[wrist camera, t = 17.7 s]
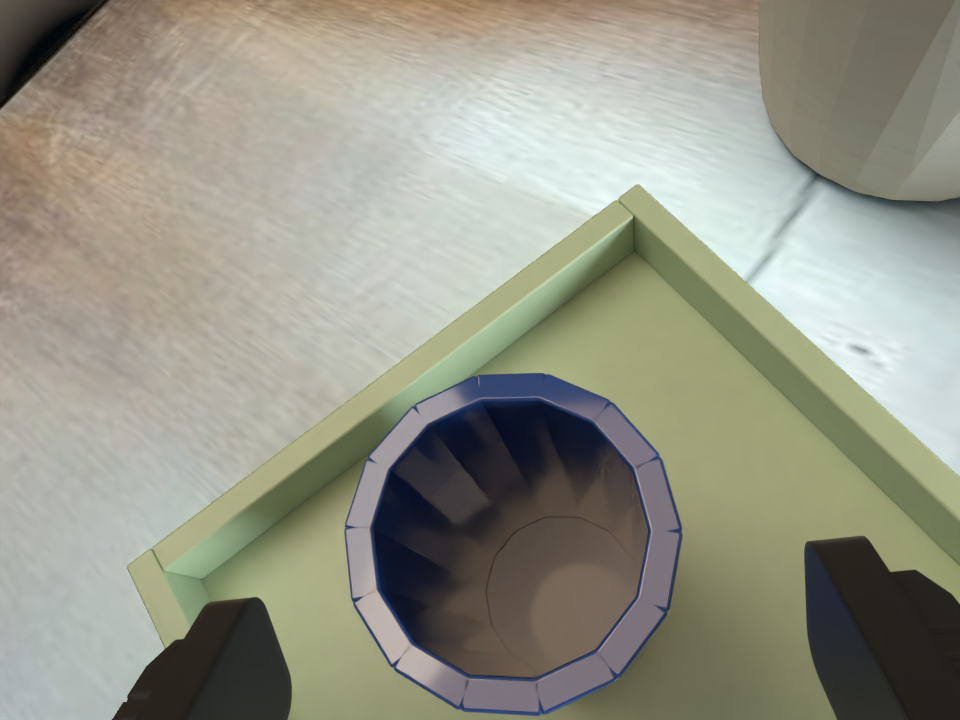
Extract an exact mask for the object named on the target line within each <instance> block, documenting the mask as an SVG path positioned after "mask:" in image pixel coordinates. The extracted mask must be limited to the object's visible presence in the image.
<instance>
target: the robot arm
mask: <svg viewBox="0 0 960 720" xmlns="http://www.w3.org/2000/svg"><path fill="white" fill-rule="evenodd" d="M804 565H805V593H806V621H807V635H808V641H809V647H810V651H811V656H812V659H813V663H814V666H815V669H816V672H817V675H818V677H819V680H820V682H821V684H822V686H823V689H824V691H825V693H826V696H827V698H828V700H829V702H830V705H831V707H832V709H833V712H834V714H835V716H836V718H837V720H960V604H959V603H958V601H957V600H956V599H955V597H954V596H953V595H952V594H951V593H950V592H948V591H947V590H945V589H944V588H942V587H941V586H939V585H938V584H936V583H935V582H933V581H932V580H930V579H929V578H927V577H926V576H925V575H923V574H922V573H920V572H919V571H917V570H916V569H915V570H905V571H895V572H890V571H889V569H888V568H887V566H886V565H885V563H884V562H883V560H882V559H881V557H880V556H879V554H878V553H877V551H876V550H875V548H874V547H873V545H872V544H871V542H870V541H869V539H867V538H866V537H865V536H853V537H843V538H833V539H824V540H814V541H807V542H806V544H805V548H804ZM127 697H128V700H127V702H123V704H122V705H121V707H120V708H119V710H118V711H117V713H116V714H115V716H114V718H113V719H112V720H287V719H288V716H289V713H290V708H291V701H292V683H291V677H290V672H289V669H288V666H287V664H286V661H285V658H284V655H283V653H282V650H281V647H280V644H279V641H278V639H277V636H276V633H275V630H274V628H273V625H272V622H271V619H270V616H269V614H268V611H267V608H266V606H265V604H264V602H263V601H262V600H261V599H260V598H258V597H251V598H241V599H232V600H222V601H213V602H209V603H207V604H206V605H205V606H204V607H203V608H202V610H201V611H200V613H199V615H198V616H197V618H196V619H195V621H194V623H193V624H192V626H191V628H190V629H189V631H188V633H187V634H186V636H185V638H184V639H176V640H174V641H173V642H172V643H171V644H170V645H169V646H168V647H167V648H166V649H165V650H164V651H163V652H161V653H160V654H159V655H158V656H157V657H156V658H155V659H154V660H153V661H152V662H151V663H150V664H149V665H147V666H146V668H145V669H144V671H143V673H142V674H141V676H140V677H139V679H138V680H137V682H136V683H135V685H134V686H133V688H132V690H131V691H130V693H129V694H128V696H127Z"/></svg>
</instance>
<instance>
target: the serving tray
mask: <svg viewBox="0 0 960 720" xmlns="http://www.w3.org/2000/svg"><path fill="white" fill-rule="evenodd" d="M520 373H544V374H545V375H546V374H550V375H553V376H555V377H557V378H560V379H562V380H565V381H567V382H569V383H572V384H574V385H576V386H579V387H581V388H583V389H586V390H588V391H591V392H593V393H595V394H598V395H600V396H602V397H605V398H607V399H609V400H610V402H613V403H615V405H616V406H617V407H618V408H619V409H620V410H621V411H622V412H623V413H624V415H625V416H626V417H627V418H628V419H629V420H630V421H631V422H632V423H633V425H634V426H635V427H636V428H637V429H638V430H639V431H640V432H641V434H642V435H643V436H644V437H645V438H646V439H647V440H648V441H649V442H650V444H651V445H652V446H653V447H654V448H655V449H656V450H657V451H658V452H659V454H660V457H661V458H662V460H663V462H664V466H665V469H666V473H667V476H668V479H669V483H670V486H671V490H672V493H673V497H674V500H675V503H676V507H677V510H678V514H679V517H680V521H681V524H682V527H683V528H682V534H683V538H682V544H681V550H680V556H679V561H678V567H677V573H676V578H675V584H674V590H673V596H672V601H671V607H670V610H669V612H668V614H667V617H666V619H665V621H664V622H663V624H662V626H661V627H660V629H659V631H658V633H657V634H656V636H655V638H654V639H653V641H652V643H651V644H650V646H649V647H648V648H647V650H646V651H645V652H644V654H643V655H642V656H641V658H640V659H639V660H638V662H637V663H636V664H635V666H634V667H633V668H632V670H631V671H630V672H629V674H628V675H627V676H626V677H624V679H622V680H620V681H617V682H615V683H613V684H611V685H609V686H607V687H605V688H603V689H600V690H598V691H596V692H594V693H592V694H590V695H588V696H586V697H584V698H581V699H579V700H577V701H575V702H573V703H571V704H569V705H566V706H564V707H562V708H560V709H558V710H556V711H554V712H551V713H549V714H547V715H540V716H525V715H507V714H490V713H472V712H464V711H462V710H457V709H455V708H453V707H452V706H450V705H448V704H447V703H445V702H444V701H442V700H440V699H439V698H437V697H435V696H434V695H432V694H431V693H429V692H427V691H426V690H424V689H422V688H421V687H419V686H418V685H416V684H414V683H413V682H411V681H409V680H408V679H406V678H405V677H403V676H401V675H400V674H398V673H396V672H395V670H394V668H392V667H390V665H389V664H388V662H387V660H386V659H385V657H384V656H383V654H382V652H381V651H380V649H379V647H378V646H377V644H376V642H375V641H374V639H373V637H372V636H371V634H370V633H369V631H368V629H367V628H366V626H365V624H364V623H363V621H362V619H361V618H360V616H359V614H358V613H357V611H356V610H355V608H354V606H353V603H354V602H352V600H351V593H350V583H349V574H348V564H347V555H346V545H345V535H344V530H345V528H346V527H345V522H346V519H347V516H348V513H349V510H350V507H351V504H352V501H353V498H354V495H355V492H356V488H357V485H358V482H359V479H360V476H361V473H362V470H363V467H364V464H365V461H366V460H367V459H368V456H369V454H370V453H371V452H372V451H373V450H374V449H375V448H376V446H377V445H378V444H379V443H380V442H381V441H382V440H383V438H384V437H385V436H386V435H387V434H388V433H389V432H390V431H391V429H392V428H393V427H394V426H395V425H396V424H397V423H398V421H399V420H400V419H401V418H402V417H403V416H404V415H405V413H406V412H407V411H408V410H409V409H410V408H411V407H412V406H415V404H416V403H418V402H420V401H422V400H424V399H426V398H428V397H430V396H432V395H435V394H437V393H439V392H441V391H443V390H445V389H447V388H449V387H451V386H453V385H456V384H458V383H460V382H462V381H464V380H466V379H468V378H470V377H472V376H476V377H477V375H484V374H520ZM853 536H865V537H866V538H867V539H869V541H870V542H871V544H872V545H873V547H874V548H875V550H876V551H877V553H878V554H879V556H880V557H881V559H882V560H883V562H884V563H885V565H886V566H887V568H888V569H889V571H890V572H895V571H905V570H915V569H916V570H917V571H919V572H920V573H922V574H923V575H925V576H926V577H927V578H929V579H930V580H932V581H933V582H935V583H936V584H938V585H939V586H941V587H942V588H944V589H945V590H947V591H948V592H950V593H951V594H952V595H953V596H954V597H955V599H956V600H957V601H958V603H959V604H960V477H959V476H958V475H957V474H956V473H955V472H954V471H953V470H952V469H951V468H949V467H948V466H947V465H946V464H945V463H944V462H943V461H942V460H941V459H940V458H938V457H937V456H936V455H935V454H934V453H933V452H932V451H931V450H930V449H929V448H927V447H926V446H925V445H924V444H923V443H922V442H921V441H920V440H919V439H918V438H917V437H915V436H914V435H913V434H912V433H911V432H910V431H909V430H908V429H907V428H906V427H904V426H903V425H902V424H901V423H900V422H899V421H898V420H897V419H896V418H895V417H893V416H892V415H891V414H890V413H889V412H888V411H887V410H886V409H885V408H884V407H883V406H881V405H880V404H879V403H878V402H877V401H876V400H875V399H874V398H873V397H872V396H870V395H869V394H868V393H867V392H866V391H865V390H864V389H863V388H862V387H861V386H859V385H858V384H857V383H856V382H855V381H854V380H853V379H852V378H851V377H850V376H849V375H847V374H846V373H845V372H844V371H843V370H842V369H841V368H840V367H839V366H838V365H836V364H835V363H834V362H833V361H832V360H831V359H830V358H829V357H828V356H827V355H825V354H824V353H823V352H822V351H821V350H820V349H819V348H818V347H817V346H816V345H815V344H813V343H812V342H811V341H810V340H809V339H808V338H807V337H806V336H805V335H804V334H802V333H801V332H800V331H799V330H798V329H797V328H796V327H795V326H794V325H793V324H791V323H790V322H789V321H788V320H787V319H786V318H785V317H784V316H783V315H782V314H781V313H779V312H778V311H777V310H776V309H775V308H774V307H773V306H772V305H771V304H770V303H768V302H767V301H766V300H765V299H764V298H763V297H762V296H761V295H760V294H759V293H757V292H756V291H755V290H754V289H753V288H752V287H751V286H750V285H749V284H748V283H747V282H745V281H744V280H743V279H742V278H741V277H740V276H739V275H738V274H737V273H736V272H734V271H733V270H732V269H731V268H730V267H729V266H728V265H727V264H726V263H725V262H723V261H722V260H721V259H720V258H719V257H718V256H717V255H716V254H715V253H714V252H713V251H711V250H710V249H709V248H708V247H707V246H706V245H705V244H704V243H703V242H702V241H700V240H699V239H698V238H697V237H696V236H695V235H694V234H693V233H692V232H691V231H689V230H688V229H687V228H686V227H685V226H684V225H683V224H682V223H681V222H680V221H679V220H677V219H676V218H675V217H674V216H673V215H672V214H671V213H670V212H669V211H668V210H666V209H665V208H664V207H663V206H662V205H661V204H660V203H659V202H658V201H657V200H655V199H654V198H653V197H652V196H651V195H650V194H649V193H648V192H647V191H646V190H645V189H643V188H642V187H641V186H640V185H638V184H637V185H635V186H634V187H633V188H631V189H630V190H629V191H627V192H626V193H625V194H623V195H622V196H621V197H620V198H619V199H618V201H617V200H616V201H614V202H612V203H611V204H610V205H608V206H607V207H606V208H604V209H603V210H602V211H600V212H599V213H598V214H596V215H595V216H594V217H592V218H591V219H590V220H588V221H587V222H586V223H584V224H583V225H582V226H580V227H579V228H578V229H576V230H575V231H574V232H572V233H571V234H570V235H568V236H567V237H566V238H564V239H563V240H562V241H560V242H559V243H558V244H556V245H555V246H554V247H552V248H551V249H550V250H548V251H547V252H546V253H544V254H543V255H542V256H540V257H539V258H538V259H536V260H535V261H534V262H532V263H531V264H530V265H528V266H527V267H526V268H524V269H523V270H522V271H520V272H519V273H518V274H516V275H515V276H514V277H512V278H511V279H510V280H508V281H507V282H506V283H504V284H503V285H502V286H500V287H499V288H498V289H496V290H495V291H494V292H492V293H491V294H490V295H488V296H487V297H486V298H484V299H483V300H482V301H480V302H479V303H478V304H476V305H475V306H474V307H472V308H471V309H470V310H468V311H467V312H466V313H464V314H463V315H462V316H460V317H459V318H458V319H456V320H455V321H454V322H452V323H451V324H450V325H448V326H447V327H446V328H444V329H443V330H442V331H440V332H439V333H438V334H436V335H435V336H434V337H432V338H431V339H430V340H428V341H427V342H426V343H424V344H423V345H422V346H420V347H419V348H418V349H416V350H415V351H414V352H412V353H411V354H410V355H408V356H407V357H406V358H404V359H403V360H402V361H400V362H399V363H398V364H396V365H395V366H394V367H392V368H391V369H390V370H388V371H387V372H386V373H384V374H383V375H382V376H380V377H379V378H378V379H376V380H375V381H374V382H372V383H371V384H370V385H368V386H367V387H366V388H364V389H363V390H362V391H360V392H359V393H358V394H356V395H355V396H354V397H352V398H351V399H350V400H348V401H347V402H346V403H344V404H343V405H342V406H340V407H339V408H338V409H336V410H335V411H334V412H332V413H331V414H330V415H328V416H327V417H326V418H324V419H323V420H322V421H320V422H319V423H318V424H316V425H315V426H314V427H312V428H311V429H310V430H308V431H307V432H306V433H304V434H303V435H302V436H300V437H299V438H298V439H296V440H295V441H294V442H292V443H291V444H290V445H288V446H287V447H286V448H284V449H283V450H282V451H280V452H279V453H278V454H276V455H275V456H274V457H272V458H271V459H270V460H268V461H267V462H266V463H264V464H263V465H262V466H260V467H259V468H258V469H256V470H255V471H254V472H252V473H251V474H250V475H248V476H247V477H246V478H244V479H243V480H242V481H240V482H239V483H238V484H236V485H235V486H234V487H232V488H231V489H230V490H228V491H227V492H226V493H224V494H223V495H222V496H220V497H219V498H218V499H216V500H215V501H214V502H212V503H211V504H210V505H208V506H207V507H206V508H204V509H203V510H202V511H200V512H199V513H198V514H196V515H195V516H194V517H192V518H191V519H190V520H188V521H187V522H186V523H184V524H183V525H182V526H180V527H179V528H178V529H176V530H175V531H174V532H172V533H171V534H170V535H168V536H167V537H166V538H164V539H163V540H162V541H160V542H159V543H158V544H156V545H155V546H154V547H153V549H149V550H148V551H147V552H145V553H144V554H143V555H141V556H140V557H139V558H137V559H136V560H135V561H133V562H132V563H131V564H129V565H128V566H127V569H128V571H129V573H130V575H131V577H132V579H133V582H134V584H135V586H136V588H137V590H138V592H139V594H140V596H141V598H142V601H143V603H144V605H145V607H146V609H147V611H148V613H149V615H150V617H151V619H152V622H153V624H154V626H155V628H156V630H157V632H158V634H159V636H160V638H161V641H162V643H163V645H164V647H165V649H166V648H167V647H168V646H169V645H170V644H171V643H172V642H173V641H174V640H176V639H184V638H185V636H186V634H187V633H188V631H189V629H190V628H191V626H192V624H193V623H194V621H195V619H196V618H197V616H198V615H199V613H200V611H201V610H202V608H203V607H204V606H205V605H206V604H207V603H209V602H213V601H222V600H232V599H241V598H251V597H258V598H260V599H261V600H262V601H263V602H264V604H265V606H266V608H267V611H268V614H269V616H270V619H271V622H272V625H273V628H274V630H275V633H276V636H277V639H278V641H279V644H280V647H281V650H282V653H283V655H284V658H285V661H286V664H287V666H288V669H289V672H290V677H291V683H292V701H291V708H290V713H289V716H288V719H287V720H837V718H836V716H835V714H834V712H833V709H832V707H831V705H830V702H829V700H828V698H827V696H826V693H825V691H824V689H823V686H822V684H821V682H820V680H819V677H818V675H817V672H816V669H815V666H814V663H813V659H812V656H811V651H810V647H809V641H808V635H807V621H806V593H805V565H804V548H805V544H806V542H807V541H814V540H824V539H833V538H843V537H853Z"/></svg>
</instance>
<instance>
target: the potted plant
mask: <svg viewBox="0 0 960 720" xmlns="http://www.w3.org/2000/svg"><path fill="white" fill-rule="evenodd" d="M759 59H760V77H761V86H762V95H763V101H764V103H765V106H766V109H767V112H768V115H769V118H770V121H771V124H772V127H773V128H774V130H775V131H776V132H777V134H778V135H779V137H780V138H781V139H782V141H783V142H784V144H785V145H786V146H787V148H788V149H789V151H790V152H791V153H792V154H793V155H794V156H795V157H797V158H798V159H799V160H801V161H802V162H803V163H805V164H806V165H808V166H809V167H810V168H812V169H813V170H814V171H816V172H817V173H818V174H820V175H822V176H824V177H826V178H828V179H830V180H832V181H834V182H836V183H838V184H840V185H842V186H844V187H846V188H848V189H850V190H852V191H854V192H858V193H862V194H867V195H872V196H876V197H881V198H886V199H891V200H913V201H942V200H947V199H953V198H958V197H960V0H759Z"/></svg>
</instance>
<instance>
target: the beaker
mask: <svg viewBox="0 0 960 720" xmlns="http://www.w3.org/2000/svg"><path fill="white" fill-rule="evenodd" d="M345 527H346V528H345V530H344V535H345V545H346V555H347V564H348V574H349V583H350V593H351V600H352V602H354V603H353V606H354V608H355V610H356V611H357V613H358V614H359V616H360V618H361V619H362V621H363V623H364V624H365V626H366V628H367V629H368V631H369V633H370V634H371V636H372V637H373V639H374V641H375V642H376V644H377V646H378V647H379V649H380V651H381V652H382V654H383V656H384V657H385V659H386V660H387V662H388V664H389V665H390V667H392V668H394V670H395V672H396V673H398V674H400V675H401V676H403V677H405V678H406V679H408V680H409V681H411V682H413V683H414V684H416V685H418V686H419V687H421V688H422V689H424V690H426V691H427V692H429V693H431V694H432V695H434V696H435V697H437V698H439V699H440V700H442V701H444V702H445V703H447V704H448V705H450V706H452V707H453V708H455V709H457V710H462V711H464V712H472V713H490V714H507V715H525V716H540V715H547V714H549V713H551V712H554V711H556V710H558V709H560V708H562V707H564V706H566V705H569V704H571V703H573V702H575V701H577V700H579V699H581V698H584V697H586V696H588V695H590V694H592V693H594V692H596V691H598V690H600V689H603V688H605V687H607V686H609V685H611V684H613V683H615V682H617V681H620V680H622V679H624V677H626V676H627V675H628V674H629V672H630V671H631V670H632V668H633V667H634V666H635V664H636V663H637V662H638V660H639V659H640V658H641V656H642V655H643V654H644V652H645V651H646V650H647V648H648V647H649V646H650V644H651V643H652V641H653V639H654V638H655V636H656V634H657V633H658V631H659V629H660V627H661V626H662V624H663V622H664V621H665V619H666V617H667V614H668V612H669V610H670V607H671V601H672V596H673V590H674V584H675V578H676V573H677V567H678V561H679V556H680V550H681V544H682V538H683V534H682V528H683V527H682V524H681V521H680V517H679V514H678V510H677V507H676V503H675V500H674V497H673V493H672V490H671V486H670V483H669V479H668V476H667V473H666V469H665V466H664V462H663V460H662V458H661V457H660V454H659V452H658V451H657V450H656V449H655V448H654V447H653V446H652V445H651V444H650V442H649V441H648V440H647V439H646V438H645V437H644V436H643V435H642V434H641V432H640V431H639V430H638V429H637V428H636V427H635V426H634V425H633V423H632V422H631V421H630V420H629V419H628V418H627V417H626V416H625V415H624V413H623V412H622V411H621V410H620V409H619V408H618V407H617V406H616V405H615V403H613V402H610V400H609V399H607V398H605V397H602V396H600V395H598V394H595V393H593V392H591V391H588V390H586V389H583V388H581V387H579V386H576V385H574V384H572V383H569V382H567V381H565V380H562V379H560V378H557V377H555V376H553V375H550V374H546V375H545V374H544V373H520V374H484V375H477V377H476V376H472V377H470V378H468V379H466V380H464V381H462V382H460V383H458V384H456V385H453V386H451V387H449V388H447V389H445V390H443V391H441V392H439V393H437V394H435V395H432V396H430V397H428V398H426V399H424V400H422V401H420V402H418V403H416V404H415V406H412V407H411V408H410V409H409V410H408V411H407V412H406V413H405V415H404V416H403V417H402V418H401V419H400V420H399V421H398V423H397V424H396V425H395V426H394V427H393V428H392V429H391V431H390V432H389V433H388V434H387V435H386V436H385V437H384V438H383V440H382V441H381V442H380V443H379V444H378V445H377V446H376V448H375V449H374V450H373V451H372V452H371V453H370V454H369V456H368V459H367V460H366V461H365V464H364V467H363V470H362V473H361V476H360V479H359V482H358V485H357V488H356V492H355V495H354V498H353V501H352V504H351V507H350V510H349V513H348V516H347V519H346V522H345Z"/></svg>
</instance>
